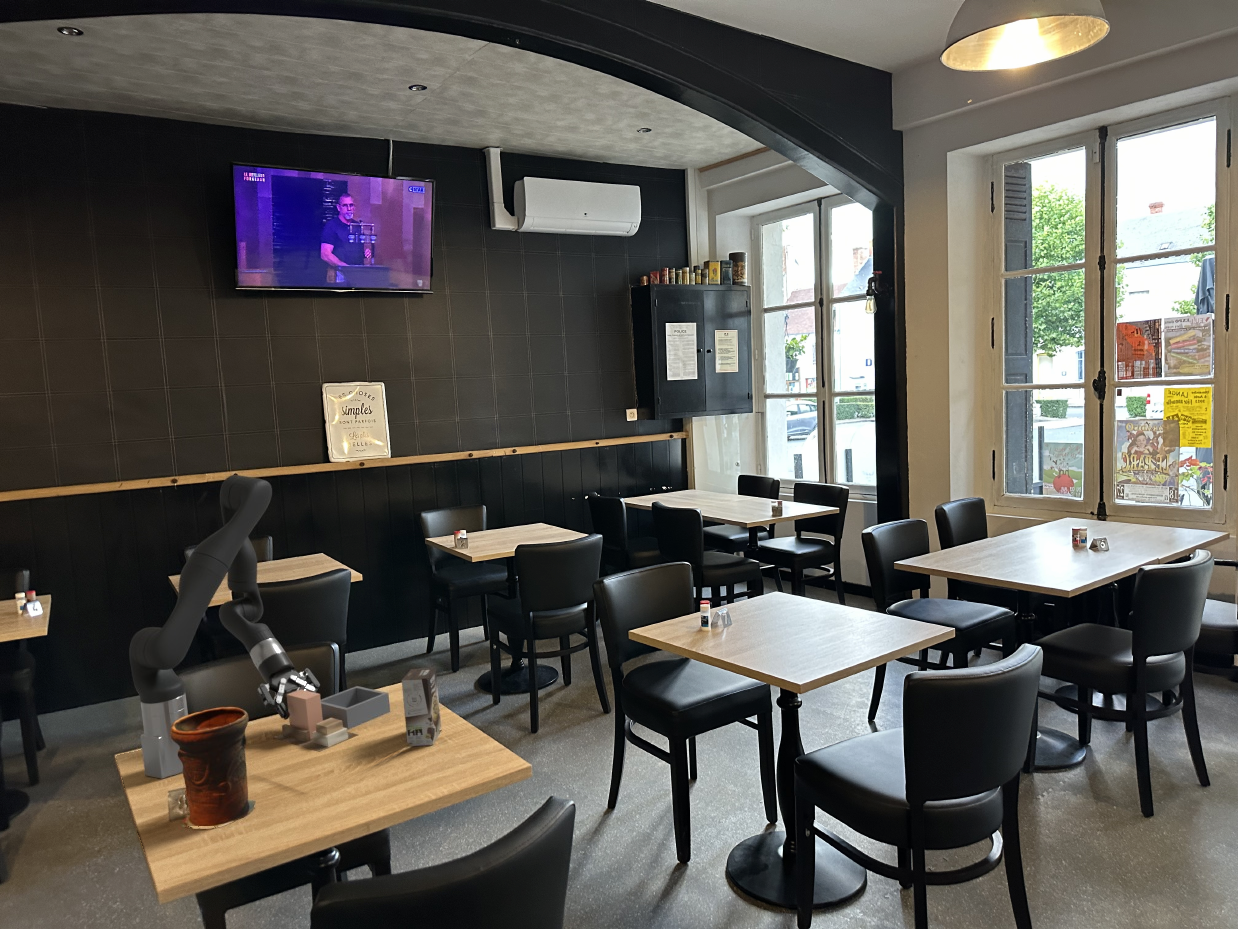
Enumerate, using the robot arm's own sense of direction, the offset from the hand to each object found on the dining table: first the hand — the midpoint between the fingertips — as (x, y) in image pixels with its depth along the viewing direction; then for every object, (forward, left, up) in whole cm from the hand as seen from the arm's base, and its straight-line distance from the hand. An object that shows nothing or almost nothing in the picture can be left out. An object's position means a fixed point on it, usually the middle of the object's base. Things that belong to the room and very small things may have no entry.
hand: (303, 711), depth 214 cm
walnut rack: (-1, -4, -6) cm, 8 cm away
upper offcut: (-2, -10, -3) cm, 11 cm away
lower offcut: (-2, -10, -5) cm, 12 cm away
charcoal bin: (+12, -4, -6) cm, 15 cm away
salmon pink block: (0, -1, -5) cm, 6 cm away
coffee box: (+8, -31, -7) cm, 33 cm away
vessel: (-36, -14, -7) cm, 39 cm away
